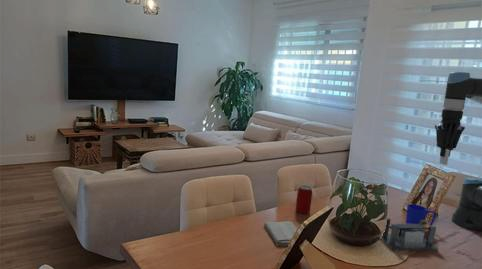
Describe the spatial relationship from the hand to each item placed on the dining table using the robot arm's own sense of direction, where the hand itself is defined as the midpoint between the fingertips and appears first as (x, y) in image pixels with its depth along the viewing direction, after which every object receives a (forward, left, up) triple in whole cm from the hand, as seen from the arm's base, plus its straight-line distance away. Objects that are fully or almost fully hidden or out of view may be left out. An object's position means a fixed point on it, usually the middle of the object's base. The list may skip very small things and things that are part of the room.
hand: (443, 163), depth 151 cm
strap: (+18, +10, -25) cm, 32 cm away
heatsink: (+19, +10, -31) cm, 38 cm away
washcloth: (+69, +4, -32) cm, 76 cm away
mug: (+4, -3, -32) cm, 32 cm away
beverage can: (+53, -20, -32) cm, 65 cm away
